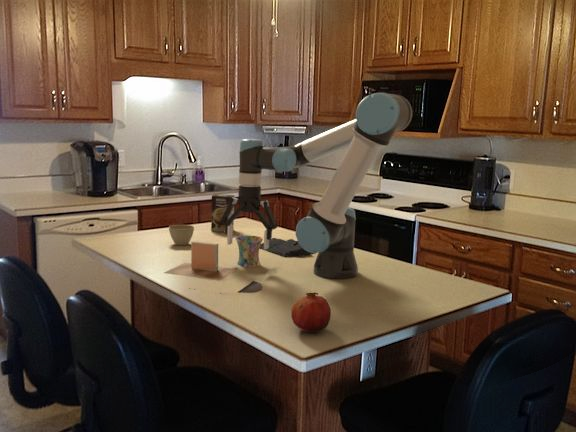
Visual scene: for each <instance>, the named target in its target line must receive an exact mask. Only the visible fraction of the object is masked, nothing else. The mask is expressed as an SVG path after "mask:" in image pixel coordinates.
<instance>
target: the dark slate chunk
mask: <svg viewBox="0 0 576 432" xmlns="http://www.w3.org/2000/svg"><path fill="white" fill-rule="evenodd" d="M259 250H263V251H265V252H267V253H270V254H273V255H277V256H280V257H282V258H289V259H290V258H291V259H292V258H296V257H298V258H299V257H305V256H306V257H307V256H309V255H312V254H314V253H311V252H308V251H306V250H304V249H303V248H302V247H301V246H300V244H299V243H298V241H297V240H295V239H293V238H290V239H287V240H286V239H282V238H276V237H272V238H271V239H270V240H269V248H268V249H266V250H265V249H264V242H261V244H260V247H259Z"/></svg>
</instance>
